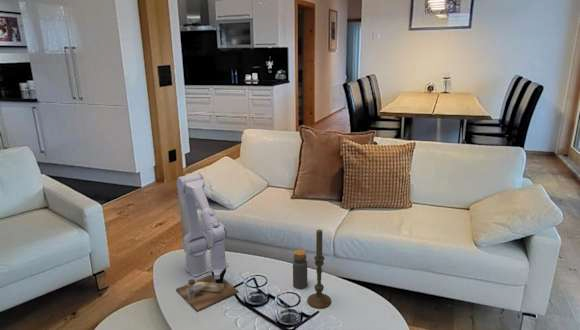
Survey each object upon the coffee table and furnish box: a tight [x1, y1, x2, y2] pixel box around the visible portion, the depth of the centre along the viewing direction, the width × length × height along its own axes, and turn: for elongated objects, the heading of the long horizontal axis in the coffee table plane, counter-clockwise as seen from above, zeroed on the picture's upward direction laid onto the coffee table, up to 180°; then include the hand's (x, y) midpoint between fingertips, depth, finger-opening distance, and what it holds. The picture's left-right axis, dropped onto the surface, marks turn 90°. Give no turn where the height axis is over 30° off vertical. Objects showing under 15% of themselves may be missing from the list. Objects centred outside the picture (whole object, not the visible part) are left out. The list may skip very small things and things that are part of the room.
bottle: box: [292, 248, 308, 290], centre depth 157 cm, size 6×6×15 cm
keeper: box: [186, 284, 204, 300], centre depth 150 cm, size 3×6×4 cm, turn 125°
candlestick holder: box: [306, 229, 332, 310], centre depth 144 cm, size 9×9×30 cm
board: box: [175, 274, 239, 313], centre depth 155 cm, size 18×18×1 cm
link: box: [187, 278, 224, 292], centre depth 155 cm, size 14×3×3 cm, turn 81°
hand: (219, 285), depth 156 cm, fingers closed
